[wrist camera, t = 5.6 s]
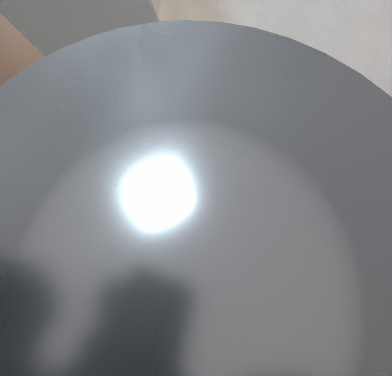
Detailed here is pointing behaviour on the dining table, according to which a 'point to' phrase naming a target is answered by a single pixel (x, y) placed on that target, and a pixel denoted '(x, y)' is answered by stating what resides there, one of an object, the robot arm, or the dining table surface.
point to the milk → (73, 19)
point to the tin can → (194, 209)
